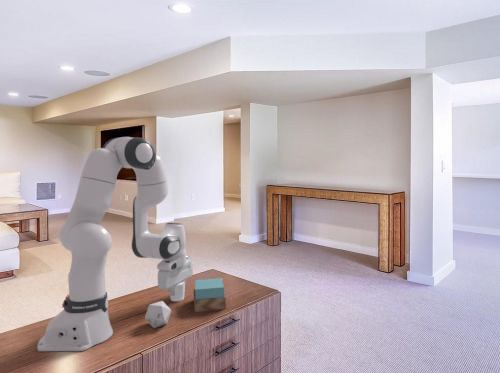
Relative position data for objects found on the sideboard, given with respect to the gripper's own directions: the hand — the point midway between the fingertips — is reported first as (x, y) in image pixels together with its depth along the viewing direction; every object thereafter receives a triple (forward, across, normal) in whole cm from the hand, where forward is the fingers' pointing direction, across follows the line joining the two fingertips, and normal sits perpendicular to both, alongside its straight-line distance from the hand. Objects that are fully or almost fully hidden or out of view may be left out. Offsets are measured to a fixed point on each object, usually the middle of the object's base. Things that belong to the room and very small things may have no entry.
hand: (177, 292), depth 152 cm
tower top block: (-2, 0, +16) cm, 16 cm away
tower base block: (+3, 0, +16) cm, 16 cm away
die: (+3, +22, +8) cm, 24 cm away
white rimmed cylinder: (+3, 0, 0) cm, 3 cm away
